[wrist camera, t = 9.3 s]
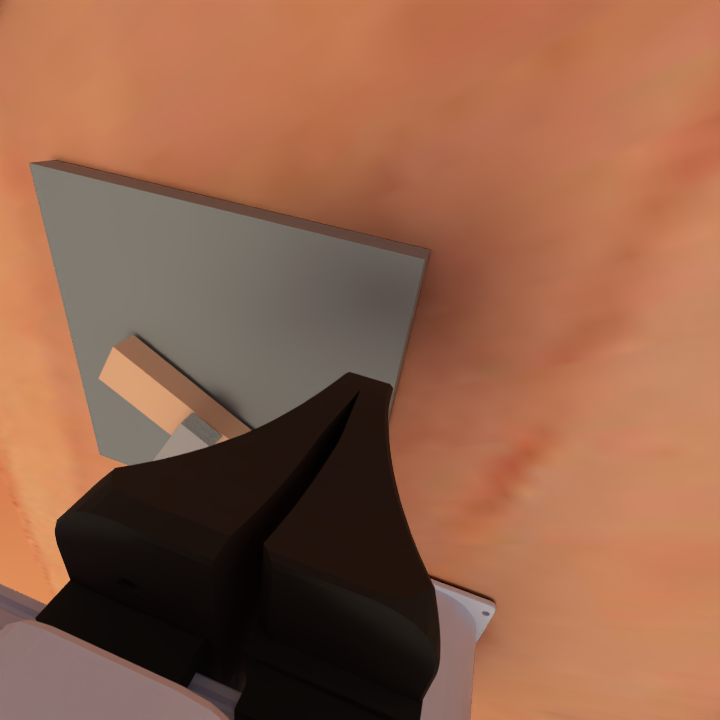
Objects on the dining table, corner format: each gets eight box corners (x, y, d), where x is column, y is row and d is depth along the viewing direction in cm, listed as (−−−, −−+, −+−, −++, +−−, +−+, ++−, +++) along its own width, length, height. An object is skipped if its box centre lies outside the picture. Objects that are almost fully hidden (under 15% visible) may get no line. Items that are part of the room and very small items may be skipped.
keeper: (246, 408, 25) (211, 448, 22) (209, 450, 28) (174, 490, 25) (219, 386, 25) (180, 423, 22) (184, 431, 28) (146, 468, 25)
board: (362, 531, 30) (355, 549, 28) (115, 441, 33) (99, 454, 32) (430, 249, 19) (424, 259, 18) (55, 160, 22) (29, 162, 21)
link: (341, 498, 26) (314, 559, 22) (309, 521, 28) (280, 581, 24) (134, 331, 24) (69, 369, 21) (116, 368, 26) (54, 409, 23)
